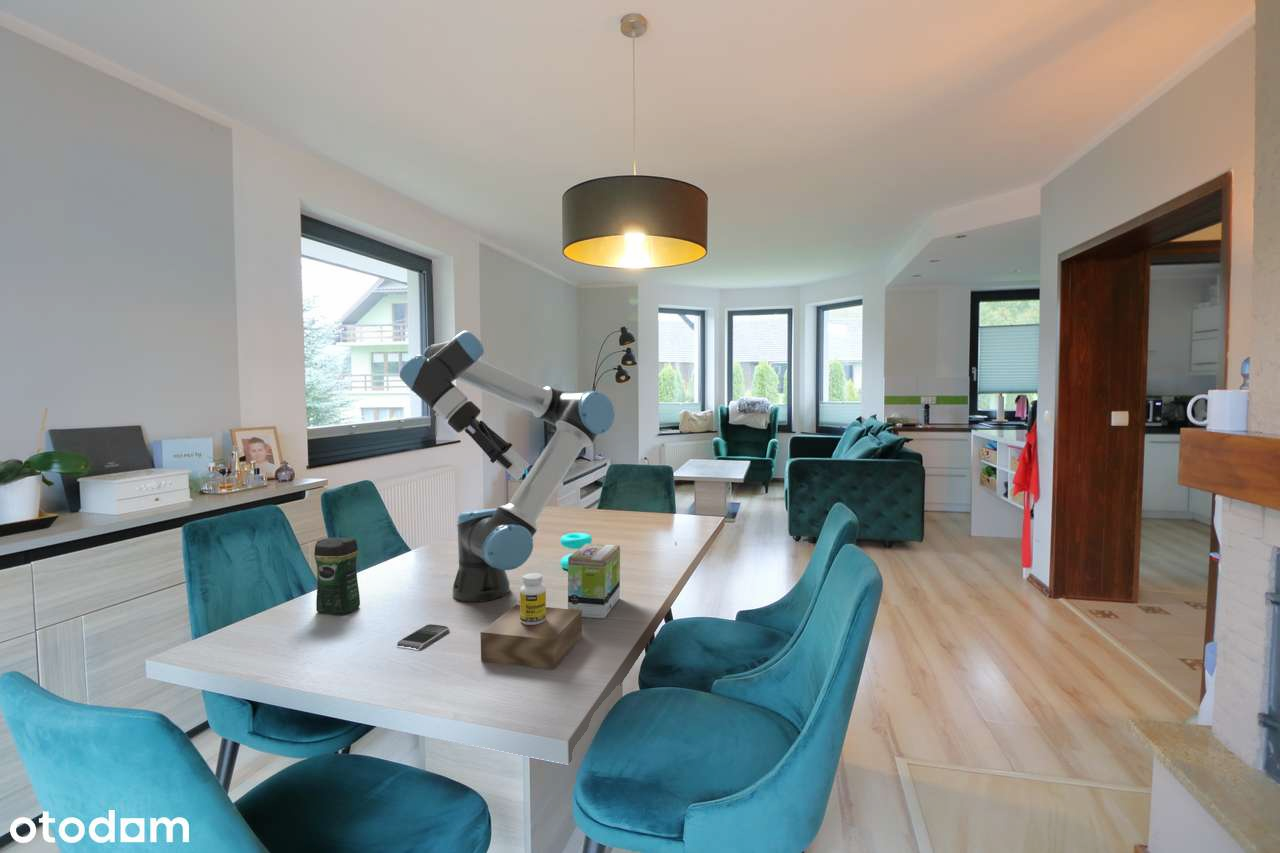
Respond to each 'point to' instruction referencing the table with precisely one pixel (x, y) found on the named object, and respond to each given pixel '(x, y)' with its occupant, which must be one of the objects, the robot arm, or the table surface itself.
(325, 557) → the coffee jar
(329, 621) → the table surface
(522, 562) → the robot arm
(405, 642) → the cell phone
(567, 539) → the donuts
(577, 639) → the walnut block
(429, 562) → the table surface
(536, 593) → the supplement bottle
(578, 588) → the tea box
